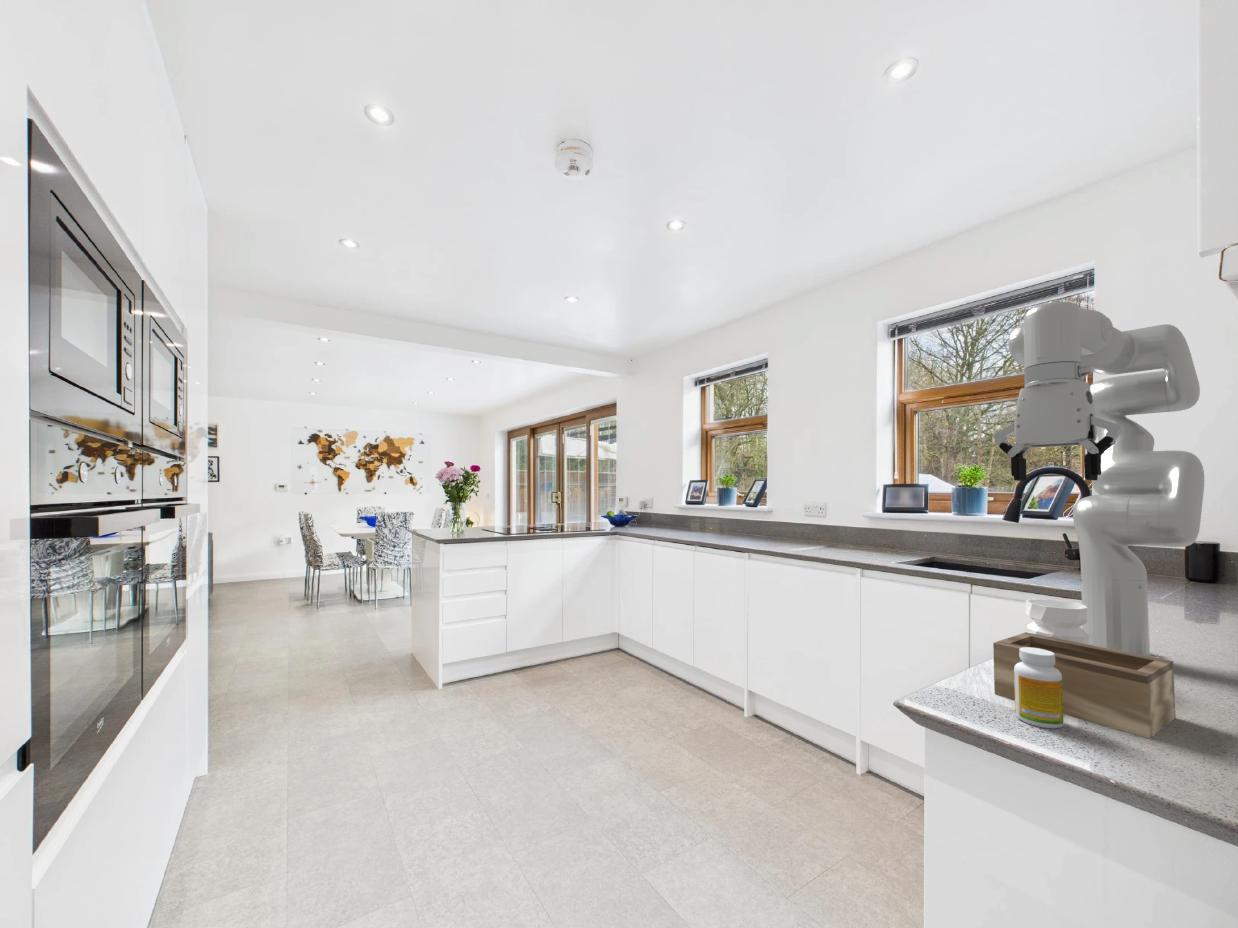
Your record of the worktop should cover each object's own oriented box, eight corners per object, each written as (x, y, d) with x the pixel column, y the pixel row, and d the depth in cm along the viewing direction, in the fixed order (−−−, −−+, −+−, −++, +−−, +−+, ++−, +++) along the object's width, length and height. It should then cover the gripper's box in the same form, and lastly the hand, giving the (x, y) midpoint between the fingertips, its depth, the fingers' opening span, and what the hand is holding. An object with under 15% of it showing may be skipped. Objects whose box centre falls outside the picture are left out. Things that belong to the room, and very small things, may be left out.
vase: (1048, 661, 102) (1046, 597, 103) (1102, 676, 94) (1099, 607, 94) (1015, 665, 99) (1013, 600, 100) (1068, 682, 91) (1065, 610, 91)
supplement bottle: (1073, 731, 72) (1070, 658, 73) (1027, 727, 73) (1025, 655, 74) (1049, 714, 78) (1047, 646, 78) (1007, 711, 79) (1006, 644, 79)
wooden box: (1027, 679, 92) (1025, 632, 92) (1175, 717, 77) (1173, 660, 77) (994, 693, 85) (993, 642, 86) (1149, 738, 70) (1147, 676, 71)
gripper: (1128, 372, 85) (1131, 481, 84) (1003, 389, 99) (1004, 481, 98) (1112, 364, 81) (1114, 478, 80) (984, 383, 95) (985, 479, 94)
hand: (1054, 480), depth 89 cm, fingers open, 9 cm apart
